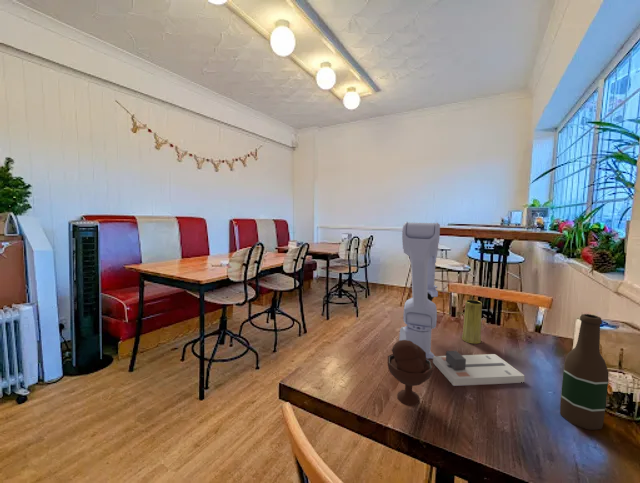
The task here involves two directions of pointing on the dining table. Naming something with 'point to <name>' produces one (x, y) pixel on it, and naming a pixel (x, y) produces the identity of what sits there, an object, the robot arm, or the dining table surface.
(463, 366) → the fader knob
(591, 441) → the dining table surface
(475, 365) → the fader panel
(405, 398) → the ice cream bowl
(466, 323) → the vase
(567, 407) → the beer bottle
